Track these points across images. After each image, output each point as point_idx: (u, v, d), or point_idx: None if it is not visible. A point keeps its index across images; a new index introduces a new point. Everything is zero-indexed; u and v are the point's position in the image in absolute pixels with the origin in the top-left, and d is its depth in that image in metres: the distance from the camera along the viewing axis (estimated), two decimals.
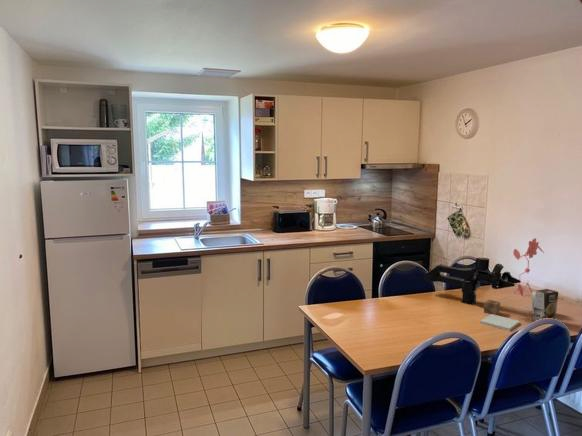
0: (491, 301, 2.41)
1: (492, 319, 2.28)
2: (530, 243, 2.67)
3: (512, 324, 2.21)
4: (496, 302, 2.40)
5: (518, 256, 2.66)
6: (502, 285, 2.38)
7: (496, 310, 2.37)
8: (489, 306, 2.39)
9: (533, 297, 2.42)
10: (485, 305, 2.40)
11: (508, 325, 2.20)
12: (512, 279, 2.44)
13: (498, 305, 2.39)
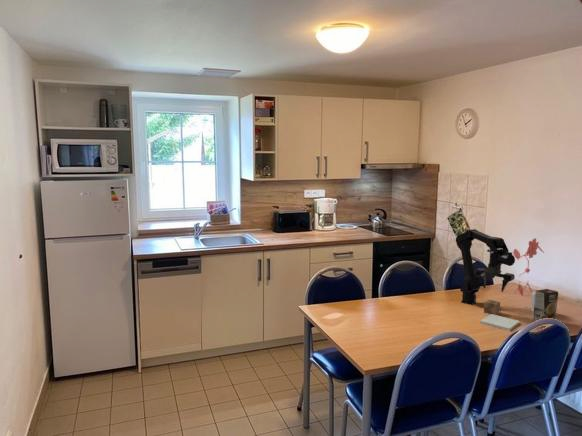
0: (491, 301, 2.41)
1: (492, 319, 2.28)
2: (530, 243, 2.67)
3: (512, 324, 2.21)
4: (496, 302, 2.40)
5: (518, 256, 2.66)
6: None
7: (496, 310, 2.37)
8: (489, 306, 2.39)
9: (533, 297, 2.42)
10: (485, 305, 2.40)
11: (508, 325, 2.20)
12: None
13: (498, 305, 2.39)
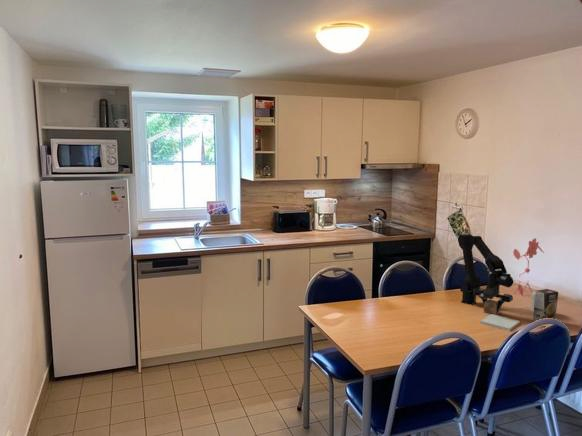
0: (491, 301, 2.41)
1: (492, 319, 2.28)
2: (530, 243, 2.67)
3: (512, 324, 2.21)
4: (496, 302, 2.40)
5: (518, 256, 2.66)
6: None
7: (496, 310, 2.37)
8: (489, 306, 2.39)
9: (533, 297, 2.42)
10: (485, 305, 2.40)
11: (508, 325, 2.20)
12: None
13: None
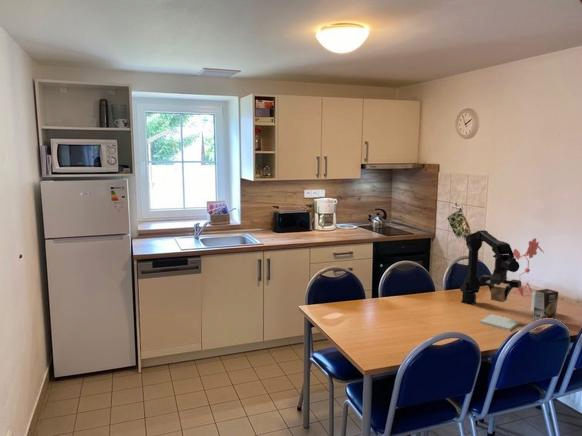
0: (498, 288, 2.29)
1: (492, 319, 2.28)
2: (530, 243, 2.67)
3: (512, 324, 2.21)
4: (504, 288, 2.28)
5: (518, 256, 2.66)
6: None
7: (503, 296, 2.26)
8: (496, 292, 2.27)
9: (533, 297, 2.42)
10: (492, 292, 2.29)
11: (508, 325, 2.20)
12: None
13: None
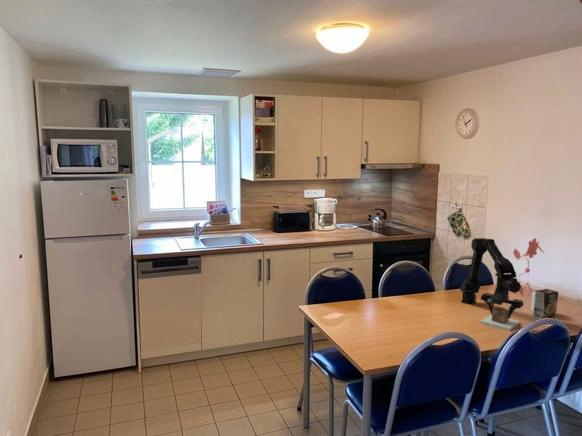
0: (499, 309, 2.25)
1: None
2: (530, 243, 2.67)
3: (512, 324, 2.21)
4: (505, 309, 2.24)
5: (518, 256, 2.66)
6: None
7: (504, 318, 2.22)
8: (498, 314, 2.23)
9: (533, 297, 2.42)
10: (493, 313, 2.25)
11: (508, 325, 2.20)
12: None
13: (507, 313, 2.24)
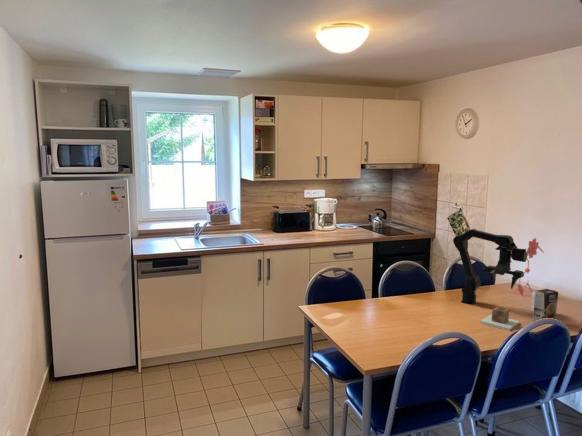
0: (499, 309, 2.25)
1: None
2: (530, 243, 2.67)
3: (512, 324, 2.21)
4: (505, 309, 2.24)
5: None
6: None
7: (504, 318, 2.22)
8: (498, 314, 2.23)
9: (533, 297, 2.42)
10: (493, 313, 2.25)
11: (508, 325, 2.20)
12: None
13: (507, 313, 2.24)
